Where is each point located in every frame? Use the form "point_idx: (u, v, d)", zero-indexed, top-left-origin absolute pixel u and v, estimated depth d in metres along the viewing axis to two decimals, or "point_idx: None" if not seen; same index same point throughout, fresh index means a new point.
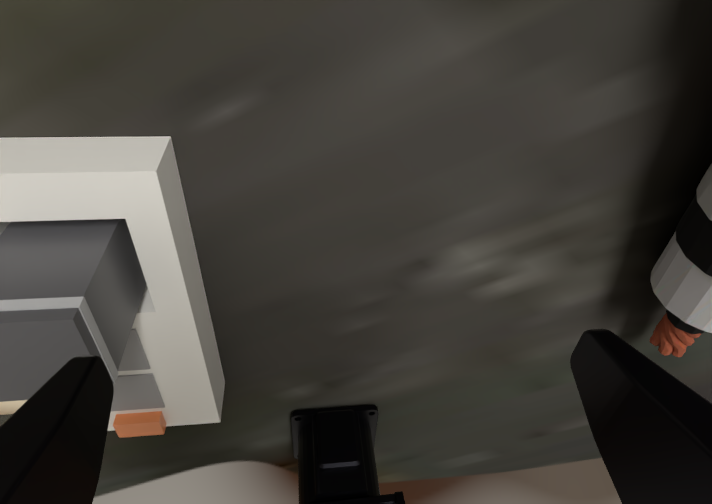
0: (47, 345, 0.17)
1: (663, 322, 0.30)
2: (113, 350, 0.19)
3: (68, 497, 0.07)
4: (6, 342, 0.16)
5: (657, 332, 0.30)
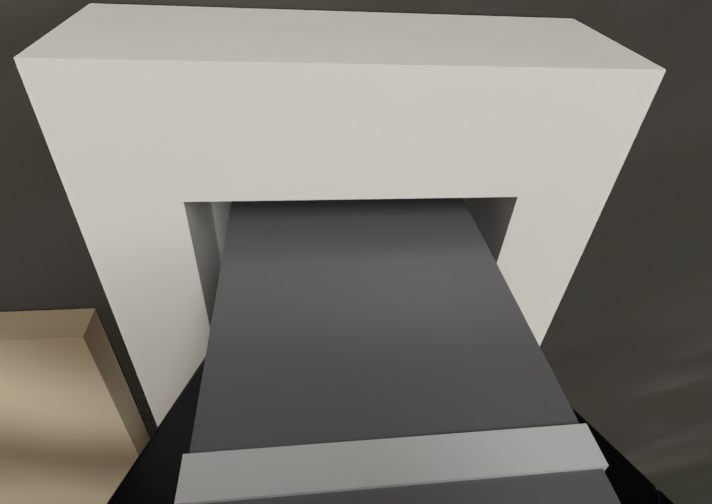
0: None
1: None
2: None
3: None
4: None
5: None
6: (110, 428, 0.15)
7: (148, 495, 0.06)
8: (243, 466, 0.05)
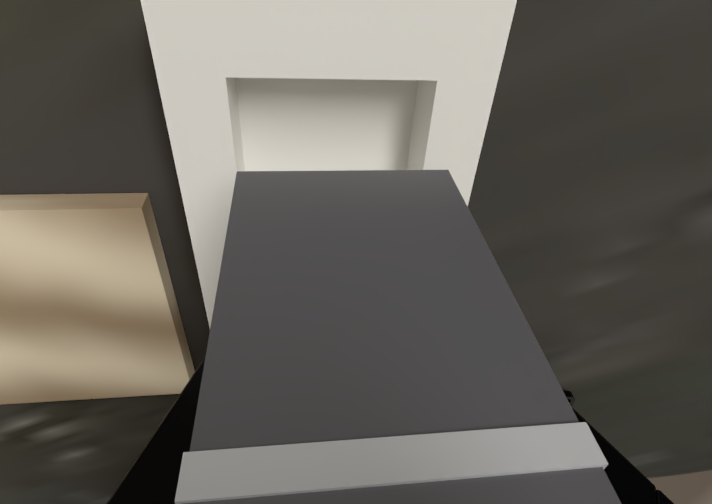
0: None
1: None
2: None
3: None
4: None
5: None
6: (154, 295, 0.19)
7: (148, 495, 0.06)
8: (243, 464, 0.05)
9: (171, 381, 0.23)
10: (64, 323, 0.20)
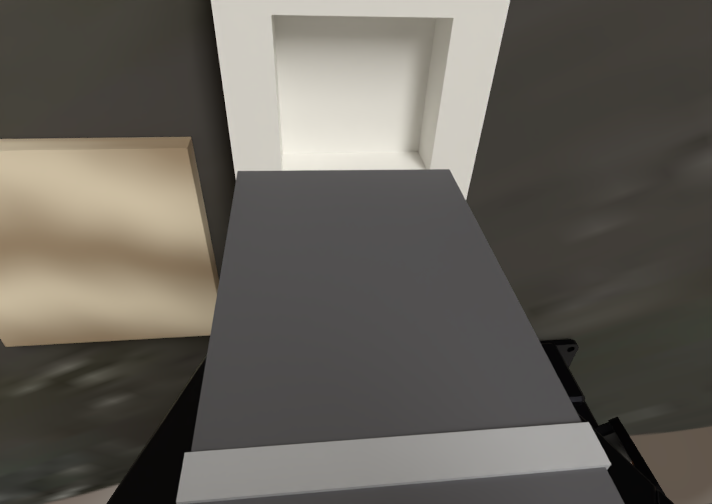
0: None
1: None
2: None
3: None
4: None
5: None
6: (194, 234, 0.21)
7: (148, 495, 0.06)
8: (245, 465, 0.05)
9: (205, 322, 0.25)
10: (112, 262, 0.22)
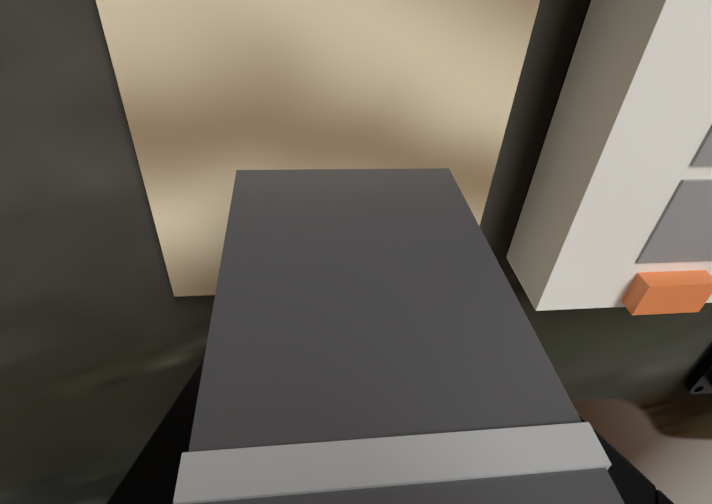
0: None
1: None
2: None
3: None
4: None
5: None
6: (493, 123, 0.14)
7: (148, 495, 0.06)
8: (243, 465, 0.05)
9: None
10: (363, 165, 0.15)
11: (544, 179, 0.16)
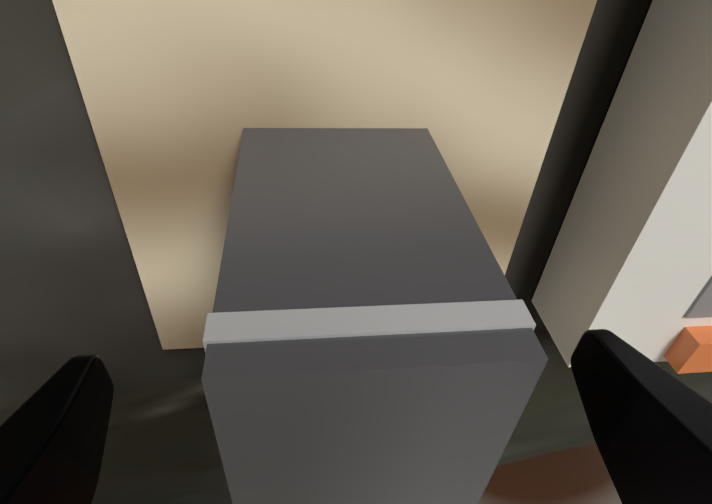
0: (440, 418, 0.07)
1: None
2: None
3: (68, 497, 0.07)
4: (356, 414, 0.07)
5: None
6: (526, 163, 0.13)
7: None
8: (254, 320, 0.06)
9: None
10: None
11: (580, 222, 0.14)
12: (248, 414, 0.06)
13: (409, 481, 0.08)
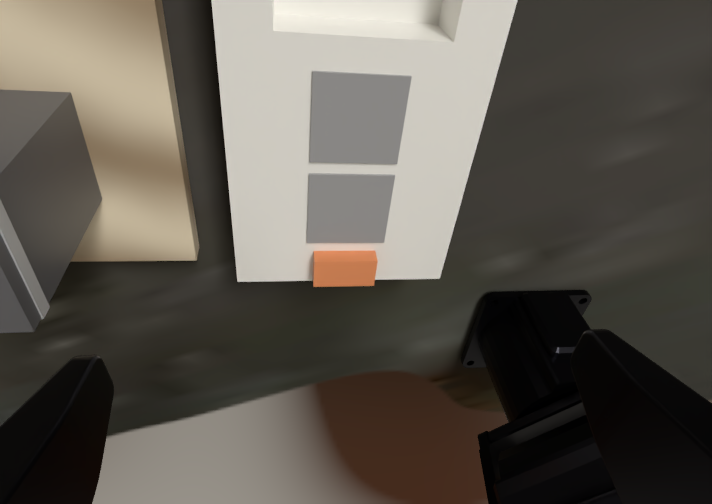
0: None
1: None
2: (42, 274, 0.14)
3: (68, 497, 0.07)
4: None
5: None
6: (161, 122, 0.17)
7: None
8: None
9: (174, 243, 0.21)
10: None
11: None
12: None
13: None
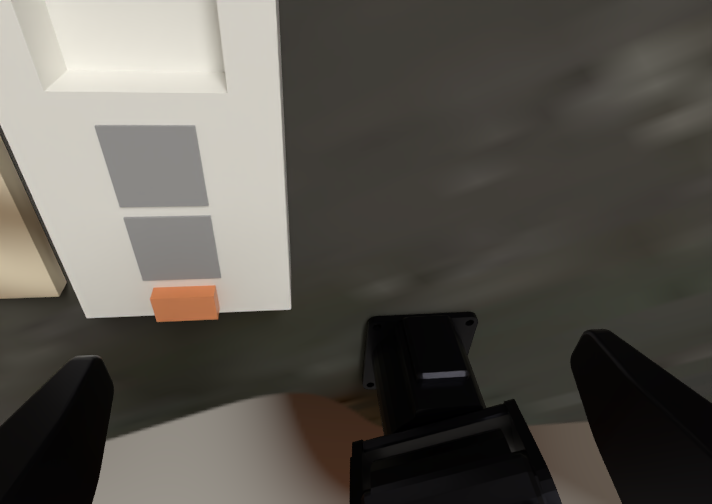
0: None
1: None
2: None
3: (68, 497, 0.07)
4: None
5: None
6: None
7: None
8: None
9: (32, 281, 0.22)
10: None
11: None
12: None
13: None
